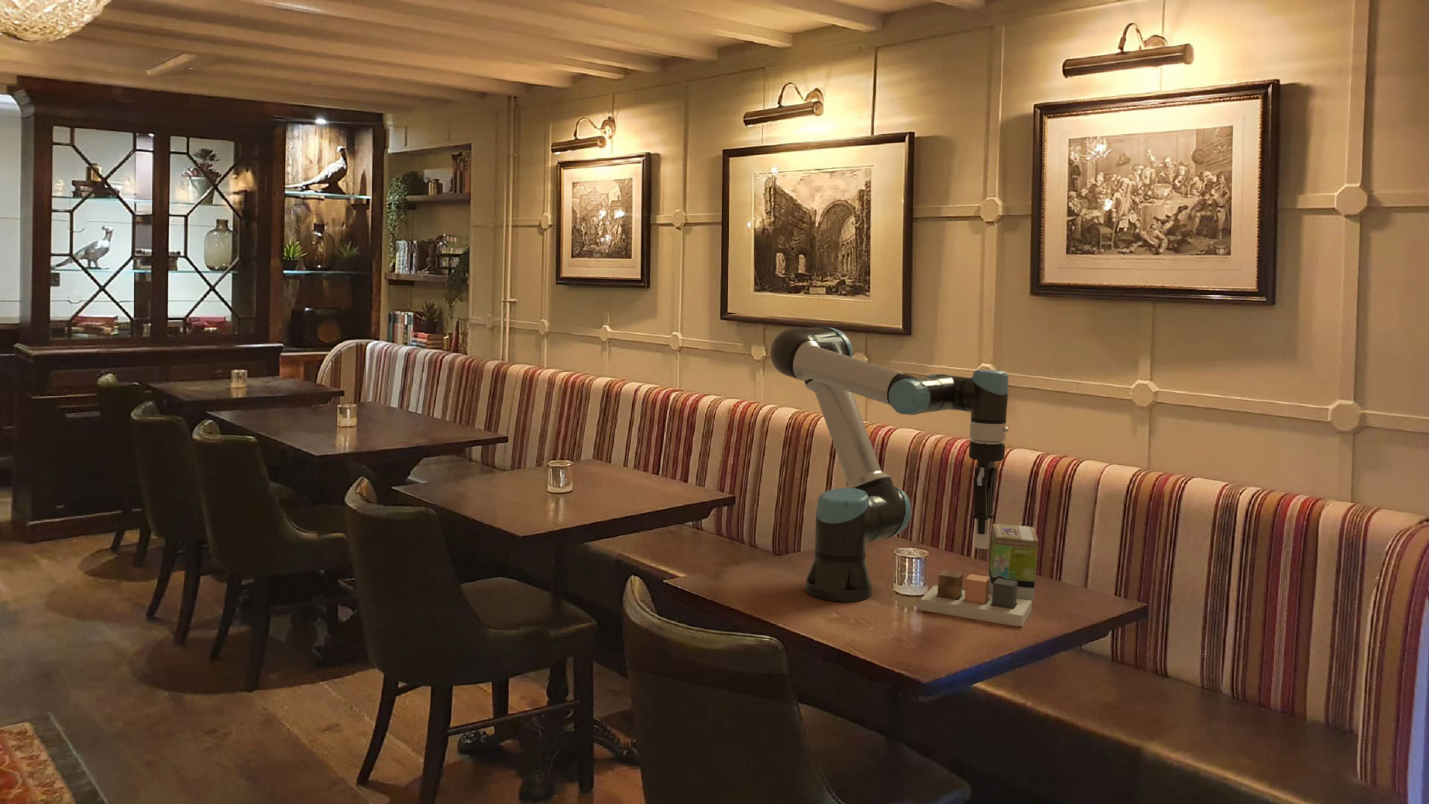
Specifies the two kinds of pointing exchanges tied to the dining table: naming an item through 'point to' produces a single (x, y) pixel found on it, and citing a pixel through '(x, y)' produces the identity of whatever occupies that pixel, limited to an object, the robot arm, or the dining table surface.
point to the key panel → (976, 608)
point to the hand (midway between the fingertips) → (981, 547)
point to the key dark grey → (1004, 593)
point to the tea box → (1014, 557)
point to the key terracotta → (977, 589)
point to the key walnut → (950, 584)
